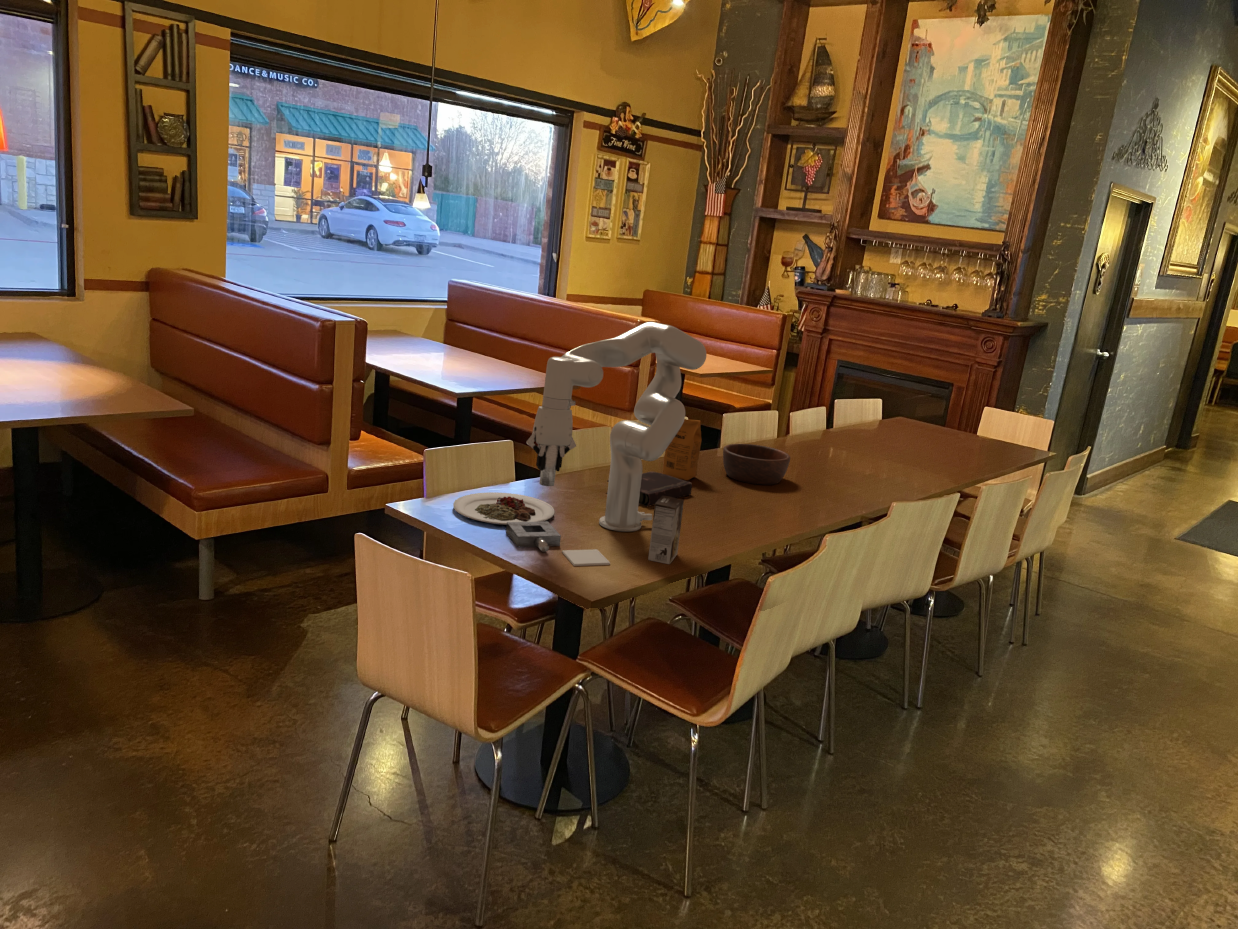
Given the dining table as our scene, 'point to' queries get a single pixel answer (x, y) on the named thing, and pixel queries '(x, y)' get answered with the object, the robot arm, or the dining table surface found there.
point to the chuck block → (533, 534)
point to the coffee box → (666, 529)
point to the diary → (661, 488)
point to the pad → (585, 557)
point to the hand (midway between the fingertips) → (548, 469)
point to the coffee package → (684, 451)
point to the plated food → (503, 508)
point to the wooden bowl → (755, 463)
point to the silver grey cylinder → (549, 465)
